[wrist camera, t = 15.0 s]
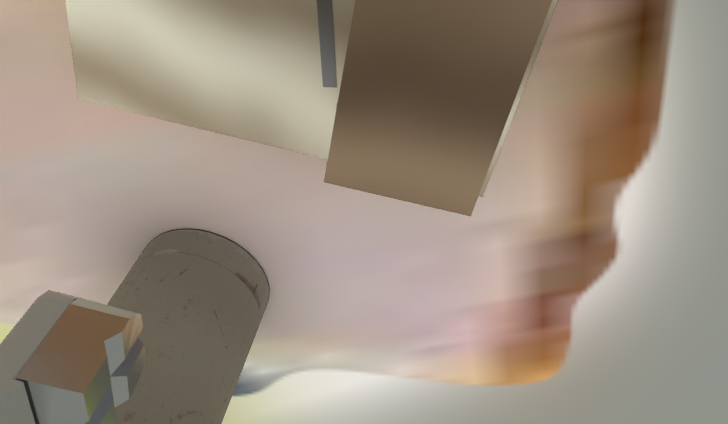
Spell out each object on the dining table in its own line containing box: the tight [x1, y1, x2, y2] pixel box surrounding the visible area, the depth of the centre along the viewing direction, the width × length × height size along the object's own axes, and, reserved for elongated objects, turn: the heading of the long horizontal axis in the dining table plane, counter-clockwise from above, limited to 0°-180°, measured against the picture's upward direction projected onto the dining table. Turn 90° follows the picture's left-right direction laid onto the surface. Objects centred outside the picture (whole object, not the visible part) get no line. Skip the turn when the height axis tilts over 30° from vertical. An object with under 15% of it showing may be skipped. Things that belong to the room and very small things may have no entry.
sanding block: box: [324, 0, 552, 216], centre depth 21 cm, size 9×6×5 cm, turn 170°
